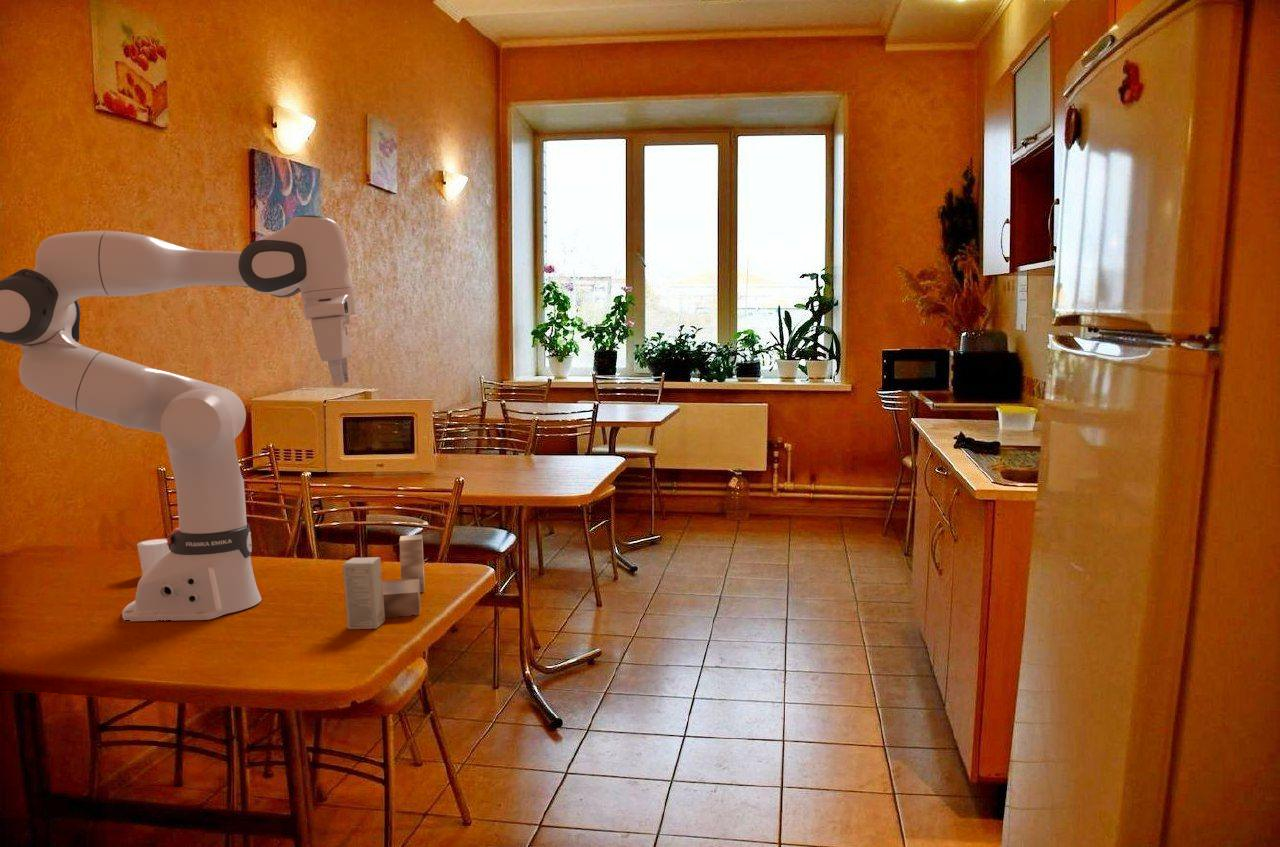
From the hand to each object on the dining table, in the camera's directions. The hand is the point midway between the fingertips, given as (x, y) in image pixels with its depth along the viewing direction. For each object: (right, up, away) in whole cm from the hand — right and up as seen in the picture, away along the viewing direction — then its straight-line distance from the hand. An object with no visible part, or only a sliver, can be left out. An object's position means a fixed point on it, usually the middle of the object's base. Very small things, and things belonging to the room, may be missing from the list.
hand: (341, 384), depth 179 cm
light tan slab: (+11, -39, -5) cm, 41 cm away
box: (+8, -41, -14) cm, 44 cm away
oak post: (+11, -38, +7) cm, 40 cm away
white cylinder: (-44, -38, +22) cm, 62 cm away
